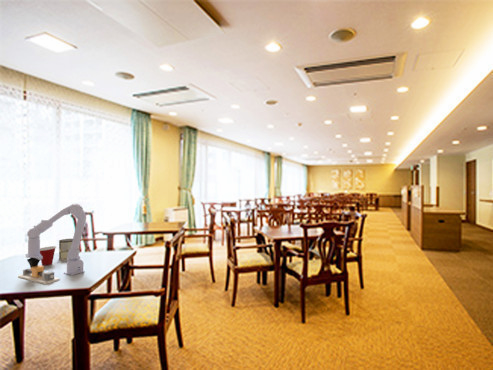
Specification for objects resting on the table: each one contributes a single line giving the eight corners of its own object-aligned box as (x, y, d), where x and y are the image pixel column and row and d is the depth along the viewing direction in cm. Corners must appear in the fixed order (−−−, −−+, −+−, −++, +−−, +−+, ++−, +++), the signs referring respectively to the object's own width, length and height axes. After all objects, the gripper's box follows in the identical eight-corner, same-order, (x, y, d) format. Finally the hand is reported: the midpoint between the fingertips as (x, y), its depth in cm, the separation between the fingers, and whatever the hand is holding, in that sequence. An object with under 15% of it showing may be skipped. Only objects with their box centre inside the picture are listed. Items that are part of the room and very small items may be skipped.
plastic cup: (40, 263, 198) (40, 246, 198) (57, 261, 202) (58, 245, 202) (34, 267, 188) (34, 249, 188) (53, 265, 191) (53, 248, 192)
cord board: (59, 280, 162) (59, 271, 162) (44, 284, 155) (44, 275, 155) (33, 273, 175) (33, 265, 175) (18, 277, 167) (18, 268, 167)
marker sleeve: (43, 275, 166) (43, 266, 166) (35, 277, 162) (35, 268, 162) (39, 274, 169) (39, 265, 169) (31, 276, 165) (31, 267, 165)
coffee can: (55, 259, 209) (55, 240, 209) (68, 255, 219) (68, 238, 219) (65, 260, 205) (65, 241, 206) (77, 257, 215) (78, 239, 215)
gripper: (19, 247, 167) (19, 270, 167) (33, 250, 160) (33, 273, 160) (33, 245, 173) (32, 267, 173) (46, 247, 167) (46, 270, 167)
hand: (33, 270), depth 167 cm, fingers closed
